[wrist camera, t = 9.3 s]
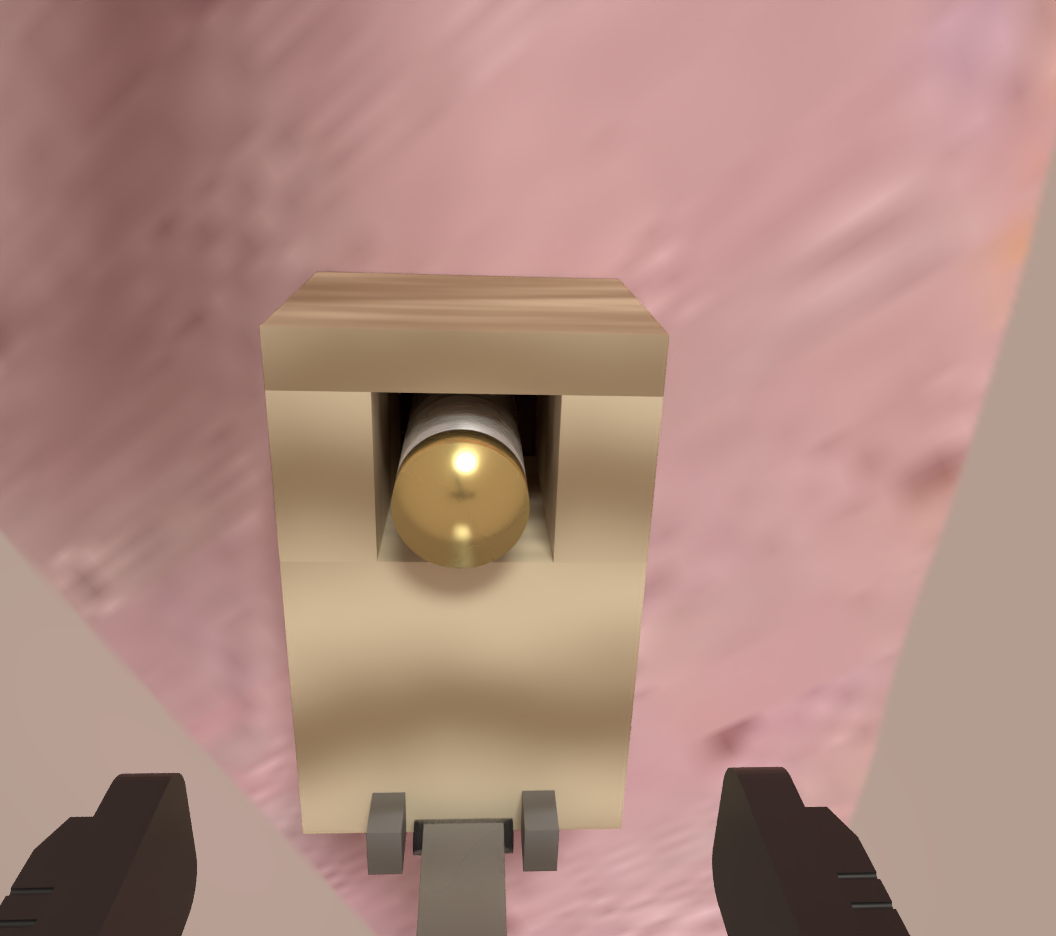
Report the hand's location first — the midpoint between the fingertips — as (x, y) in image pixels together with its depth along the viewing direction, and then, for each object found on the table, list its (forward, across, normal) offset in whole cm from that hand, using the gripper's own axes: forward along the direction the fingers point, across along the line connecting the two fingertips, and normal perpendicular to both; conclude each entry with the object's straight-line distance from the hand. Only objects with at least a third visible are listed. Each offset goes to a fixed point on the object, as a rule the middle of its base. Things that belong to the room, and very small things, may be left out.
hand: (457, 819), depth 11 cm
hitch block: (+20, 0, +4) cm, 20 cm away
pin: (+20, 0, 0) cm, 20 cm away
